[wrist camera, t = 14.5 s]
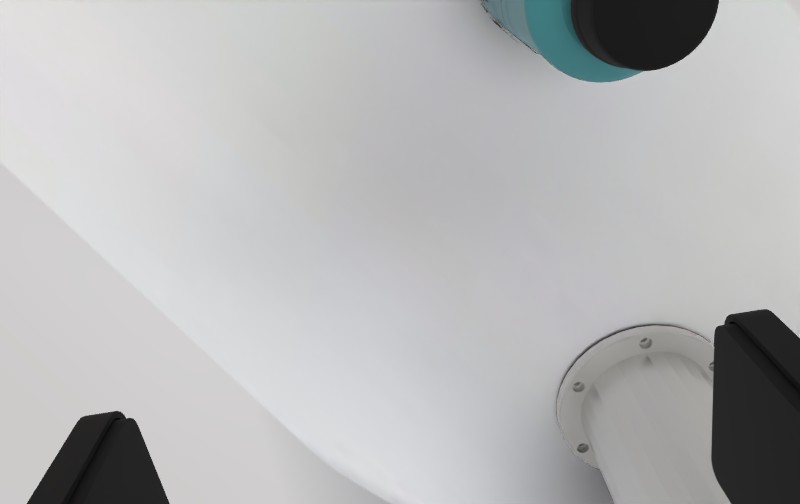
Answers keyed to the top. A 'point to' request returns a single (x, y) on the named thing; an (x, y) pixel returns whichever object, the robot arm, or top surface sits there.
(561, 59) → the beverage bottle
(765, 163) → the top surface
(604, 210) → the top surface
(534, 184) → the top surface
